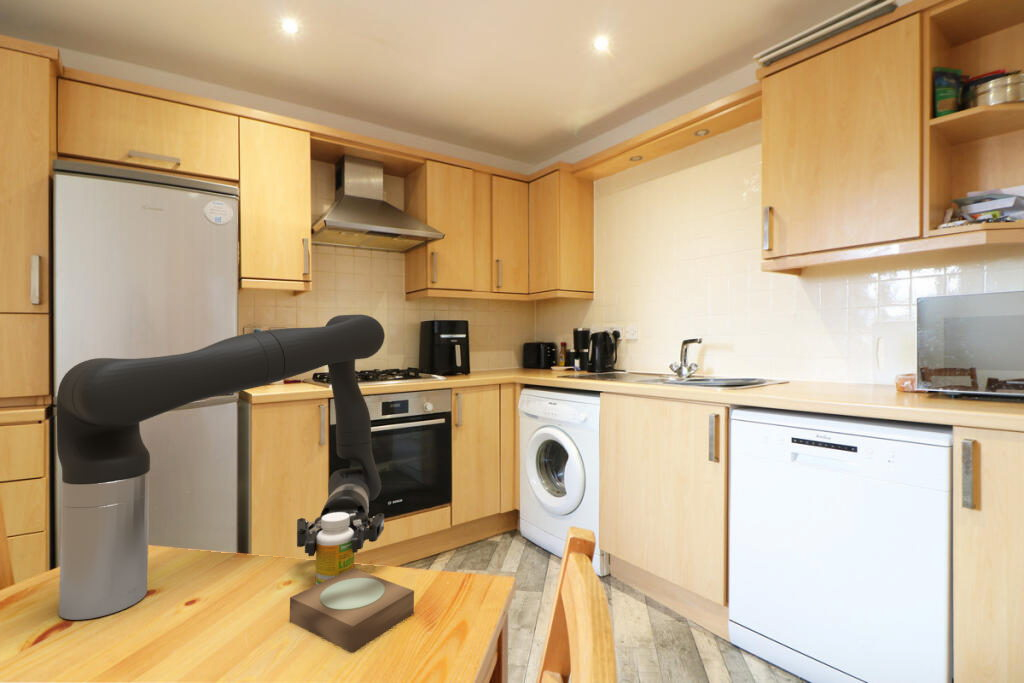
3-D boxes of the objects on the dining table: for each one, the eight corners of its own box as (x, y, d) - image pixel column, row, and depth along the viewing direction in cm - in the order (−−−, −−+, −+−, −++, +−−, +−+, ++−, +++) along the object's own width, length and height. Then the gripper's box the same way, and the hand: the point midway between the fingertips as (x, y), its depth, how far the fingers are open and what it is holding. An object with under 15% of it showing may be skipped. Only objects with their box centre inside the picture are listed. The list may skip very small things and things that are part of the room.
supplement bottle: (341, 592, 70) (342, 524, 70) (307, 588, 71) (308, 521, 71) (360, 575, 75) (361, 511, 75) (328, 571, 76) (329, 509, 76)
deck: (289, 620, 62) (290, 595, 62) (352, 588, 71) (353, 566, 71) (352, 652, 56) (352, 624, 56) (413, 613, 64) (414, 589, 64)
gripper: (303, 491, 85) (280, 525, 69) (388, 487, 88) (384, 518, 72) (302, 534, 85) (279, 578, 69) (387, 528, 88) (384, 569, 72)
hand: (333, 547), depth 70 cm, fingers closed on supplement bottle, 5 cm apart
